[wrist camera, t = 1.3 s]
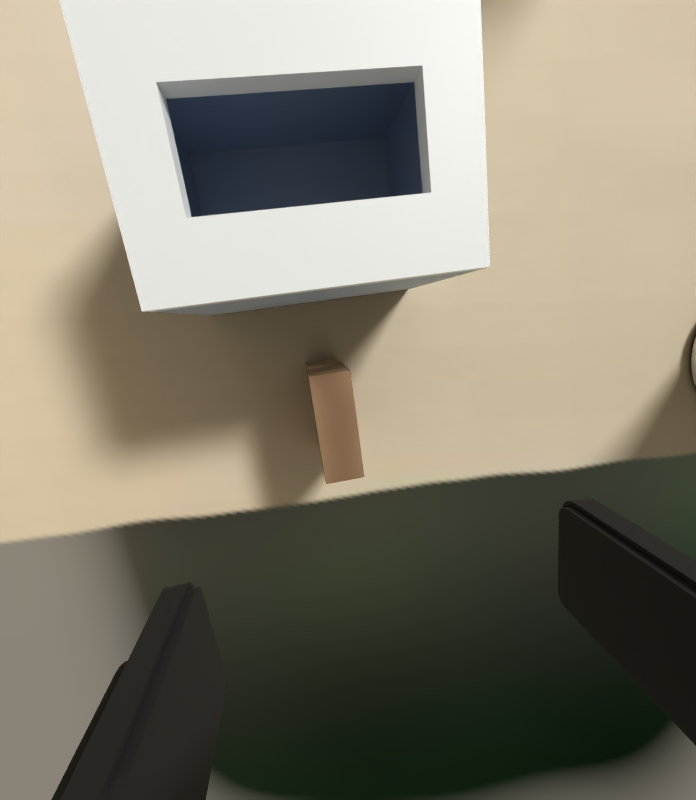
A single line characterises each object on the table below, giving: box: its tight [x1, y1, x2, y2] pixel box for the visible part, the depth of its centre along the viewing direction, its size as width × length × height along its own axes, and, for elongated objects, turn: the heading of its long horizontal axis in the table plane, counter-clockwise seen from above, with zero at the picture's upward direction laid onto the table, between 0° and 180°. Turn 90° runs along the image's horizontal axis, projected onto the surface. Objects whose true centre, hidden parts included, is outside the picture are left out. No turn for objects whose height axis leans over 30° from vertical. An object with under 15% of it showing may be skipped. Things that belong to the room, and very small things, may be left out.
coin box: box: [59, 0, 490, 315], centre depth 20 cm, size 15×11×12 cm
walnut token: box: [306, 359, 364, 484], centre depth 25 cm, size 2×7×7 cm, turn 8°
